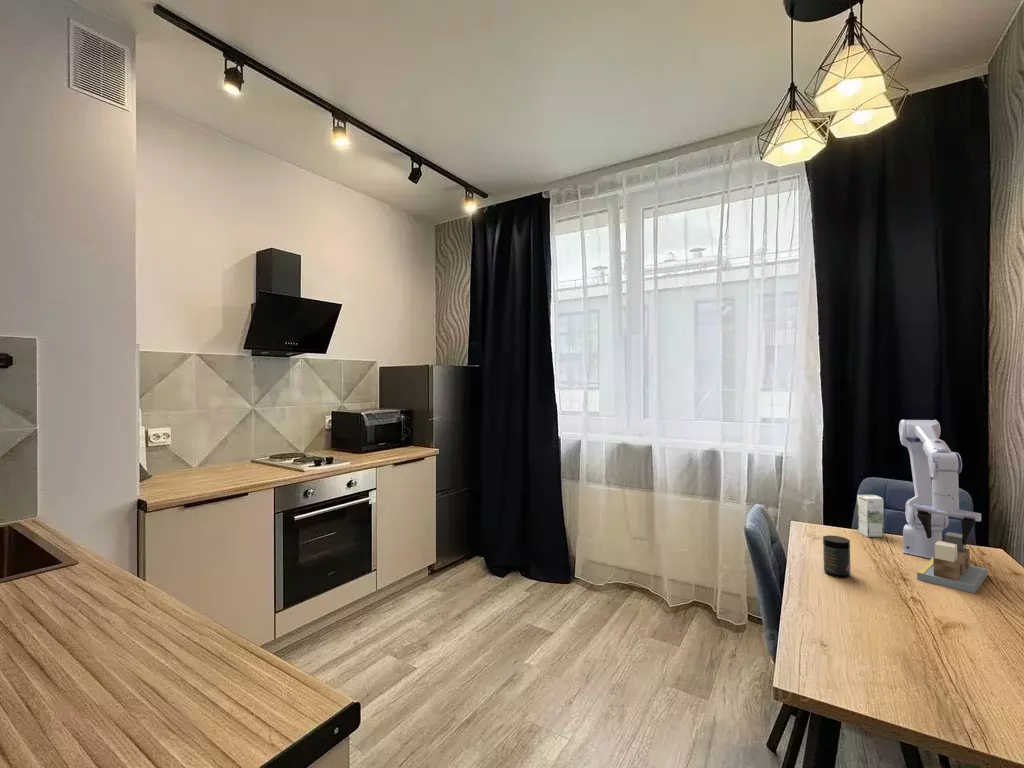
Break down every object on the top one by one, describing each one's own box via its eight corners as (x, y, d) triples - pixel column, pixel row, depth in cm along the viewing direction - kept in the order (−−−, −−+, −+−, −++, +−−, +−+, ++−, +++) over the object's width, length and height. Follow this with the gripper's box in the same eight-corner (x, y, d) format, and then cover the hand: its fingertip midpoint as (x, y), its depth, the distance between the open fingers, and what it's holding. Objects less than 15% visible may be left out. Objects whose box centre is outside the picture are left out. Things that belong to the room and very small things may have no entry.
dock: (917, 579, 136) (916, 572, 136) (933, 563, 147) (933, 556, 147) (974, 593, 126) (974, 585, 126) (987, 575, 137) (987, 568, 137)
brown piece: (933, 575, 134) (933, 557, 134) (947, 561, 143) (946, 544, 143) (957, 581, 130) (957, 562, 130) (970, 566, 140) (969, 549, 140)
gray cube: (945, 548, 141) (944, 534, 141) (948, 545, 143) (947, 531, 143) (963, 551, 138) (963, 538, 138) (966, 548, 140) (965, 535, 140)
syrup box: (873, 532, 177) (872, 494, 177) (884, 537, 171) (883, 497, 171) (857, 532, 178) (856, 494, 178) (867, 537, 172) (866, 497, 172)
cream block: (934, 558, 134) (934, 543, 134) (938, 554, 136) (938, 540, 136) (954, 562, 130) (953, 547, 130) (957, 558, 133) (956, 544, 133)
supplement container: (848, 580, 137) (847, 544, 137) (820, 574, 142) (819, 539, 142) (853, 573, 141) (852, 538, 141) (826, 567, 146) (825, 533, 146)
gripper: (909, 492, 141) (910, 537, 141) (977, 500, 129) (978, 550, 129) (916, 488, 145) (917, 532, 145) (982, 496, 134) (983, 544, 134)
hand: (946, 540), depth 138 cm, fingers open, 7 cm apart
